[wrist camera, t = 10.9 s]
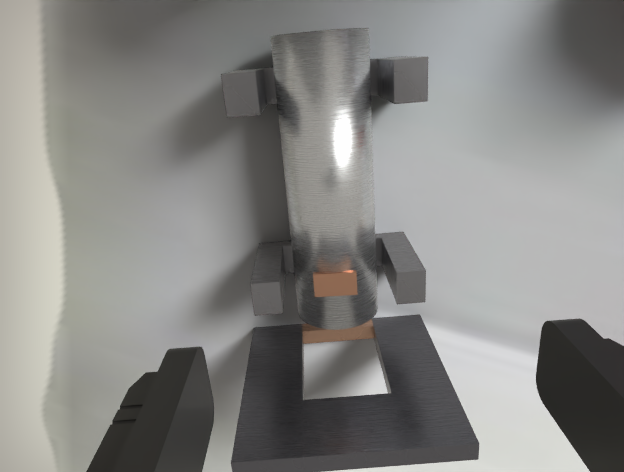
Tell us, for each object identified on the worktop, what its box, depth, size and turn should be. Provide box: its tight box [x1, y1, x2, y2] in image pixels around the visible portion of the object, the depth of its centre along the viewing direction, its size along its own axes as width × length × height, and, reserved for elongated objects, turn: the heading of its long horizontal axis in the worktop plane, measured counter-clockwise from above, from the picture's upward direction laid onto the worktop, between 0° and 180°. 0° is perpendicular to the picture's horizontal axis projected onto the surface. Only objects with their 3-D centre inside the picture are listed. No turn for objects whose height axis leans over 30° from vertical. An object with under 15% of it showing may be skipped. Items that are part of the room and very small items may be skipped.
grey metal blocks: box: [221, 57, 428, 118], centre depth 25 cm, size 2×10×6 cm, turn 95°
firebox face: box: [231, 315, 479, 472], centre depth 28 cm, size 1×12×12 cm, turn 95°
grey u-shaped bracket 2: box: [250, 232, 426, 316], centre depth 29 cm, size 2×10×6 cm, turn 95°
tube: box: [270, 28, 378, 330], centre depth 27 cm, size 16×5×5 cm, turn 4°
